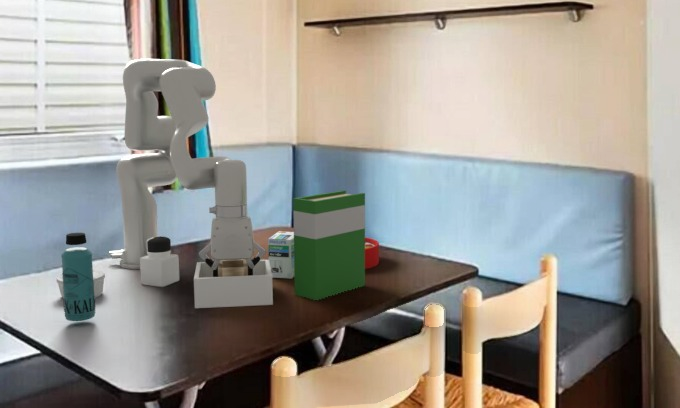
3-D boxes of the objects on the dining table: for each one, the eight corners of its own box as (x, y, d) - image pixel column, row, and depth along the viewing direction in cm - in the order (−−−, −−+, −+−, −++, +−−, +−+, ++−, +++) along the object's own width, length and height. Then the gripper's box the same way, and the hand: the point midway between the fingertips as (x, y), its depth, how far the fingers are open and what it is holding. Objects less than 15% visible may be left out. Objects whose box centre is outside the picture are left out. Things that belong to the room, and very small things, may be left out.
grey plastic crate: (194, 308, 169) (193, 279, 168) (198, 289, 185) (197, 262, 184) (272, 304, 172) (272, 275, 171) (269, 286, 187) (268, 259, 186)
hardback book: (343, 280, 193) (343, 190, 189) (364, 285, 188) (364, 193, 184) (294, 294, 180) (293, 198, 176) (315, 300, 175) (314, 201, 171)
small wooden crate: (218, 293, 173) (217, 269, 172) (219, 283, 182) (218, 259, 181) (248, 292, 174) (247, 267, 173) (247, 282, 183) (247, 258, 182)
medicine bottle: (180, 280, 193) (178, 236, 191) (162, 287, 187) (160, 241, 185) (158, 277, 196) (156, 234, 194) (140, 284, 190) (138, 239, 188)
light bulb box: (292, 279, 194) (291, 239, 192) (267, 278, 195) (267, 238, 194) (302, 269, 204) (301, 231, 203) (279, 268, 206) (278, 230, 204)
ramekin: (60, 305, 173) (59, 283, 172) (55, 293, 182) (53, 272, 181) (109, 298, 178) (108, 277, 177) (101, 287, 187) (100, 267, 187)
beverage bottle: (69, 319, 162) (63, 230, 159) (100, 318, 163) (94, 229, 159) (60, 328, 156) (54, 236, 152) (92, 327, 156) (87, 236, 153)
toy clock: (387, 248, 204) (318, 252, 200) (387, 268, 205) (318, 273, 201) (367, 234, 224) (303, 237, 219) (367, 253, 225) (303, 257, 220)
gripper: (193, 215, 170) (196, 289, 173) (268, 213, 173) (270, 286, 175) (195, 210, 177) (197, 281, 180) (267, 208, 180) (268, 278, 183)
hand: (233, 283), depth 178 cm, fingers closed on small wooden crate, 6 cm apart
